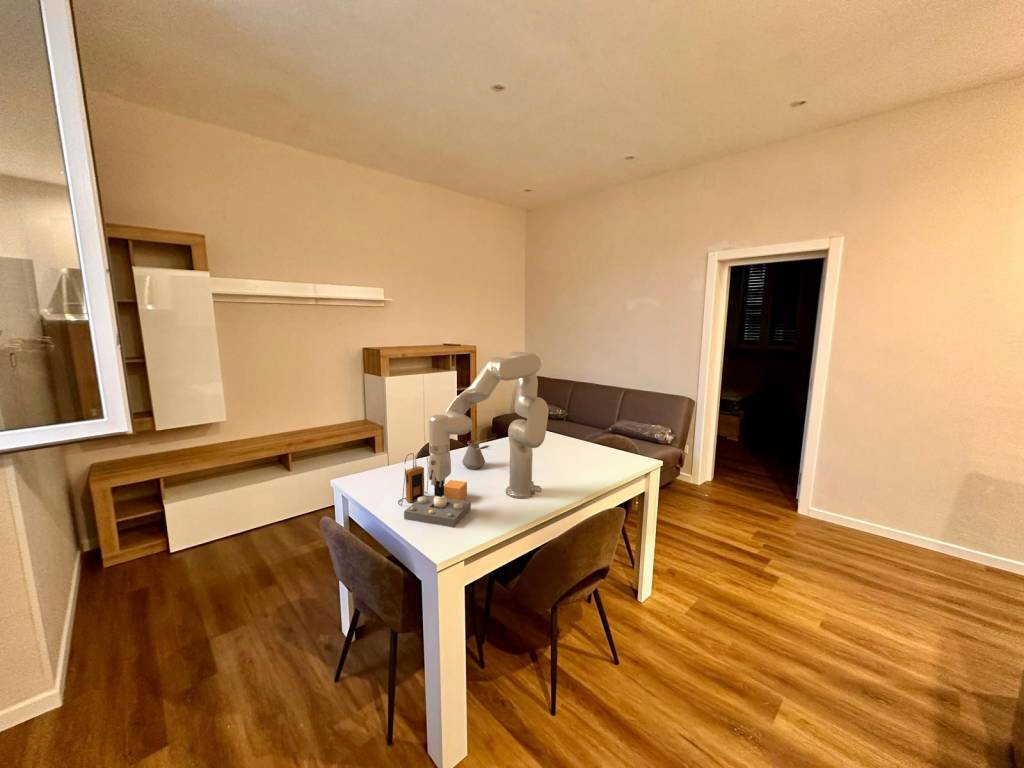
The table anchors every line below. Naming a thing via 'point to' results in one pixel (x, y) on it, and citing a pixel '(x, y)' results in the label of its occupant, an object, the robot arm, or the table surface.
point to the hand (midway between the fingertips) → (439, 495)
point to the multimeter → (414, 482)
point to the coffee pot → (474, 455)
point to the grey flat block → (437, 511)
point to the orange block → (455, 490)
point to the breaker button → (440, 502)
